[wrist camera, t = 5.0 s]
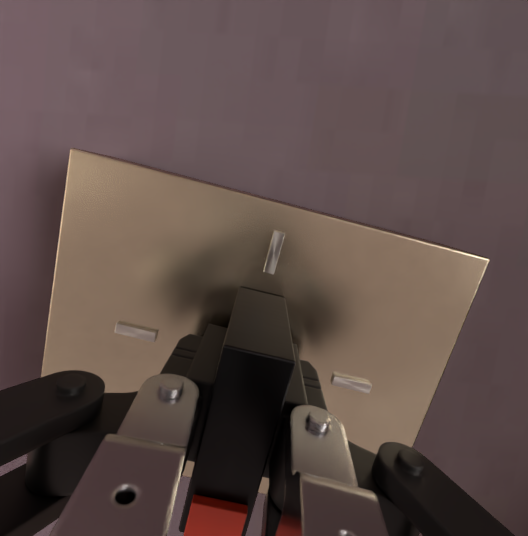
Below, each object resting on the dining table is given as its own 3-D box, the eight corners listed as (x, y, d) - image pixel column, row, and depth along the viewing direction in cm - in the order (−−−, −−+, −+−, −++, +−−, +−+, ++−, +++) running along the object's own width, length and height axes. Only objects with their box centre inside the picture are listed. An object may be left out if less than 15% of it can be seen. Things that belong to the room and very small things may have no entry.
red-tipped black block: (239, 286, 12) (221, 350, 7) (285, 297, 12) (297, 368, 7) (208, 414, 13) (175, 542, 8) (250, 423, 13) (241, 556, 8)
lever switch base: (74, 396, 16) (28, 446, 13) (111, 156, 14) (66, 146, 11) (362, 463, 17) (384, 525, 14) (445, 244, 14) (494, 260, 11)
